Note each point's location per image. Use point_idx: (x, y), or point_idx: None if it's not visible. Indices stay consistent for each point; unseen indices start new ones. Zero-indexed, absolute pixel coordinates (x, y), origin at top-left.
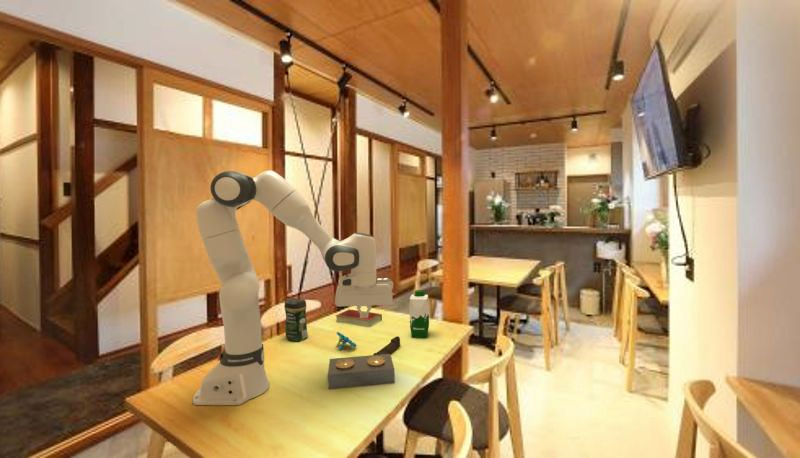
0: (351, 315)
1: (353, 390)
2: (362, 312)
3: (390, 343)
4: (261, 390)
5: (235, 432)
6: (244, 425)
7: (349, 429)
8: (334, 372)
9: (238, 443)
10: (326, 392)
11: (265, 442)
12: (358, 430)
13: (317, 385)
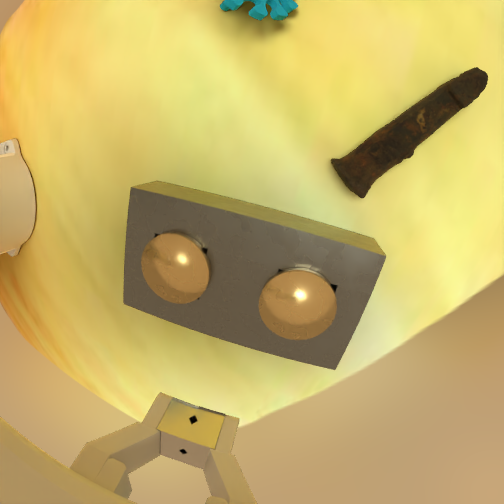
0: None
1: None
2: (168, 443)
3: (440, 103)
4: (26, 232)
5: (37, 327)
6: (40, 318)
7: None
8: (141, 301)
9: (49, 351)
10: None
11: (75, 371)
12: None
13: (121, 248)
